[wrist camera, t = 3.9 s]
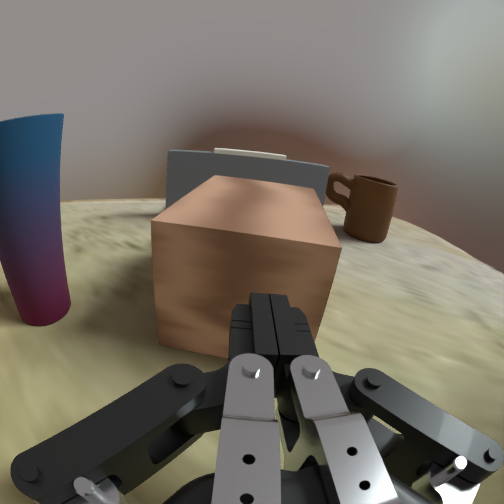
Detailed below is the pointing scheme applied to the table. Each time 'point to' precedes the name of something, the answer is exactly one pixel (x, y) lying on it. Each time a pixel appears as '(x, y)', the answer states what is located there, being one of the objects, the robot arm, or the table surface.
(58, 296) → the cup
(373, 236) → the mug
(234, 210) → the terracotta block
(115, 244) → the table surface
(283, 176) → the rail
